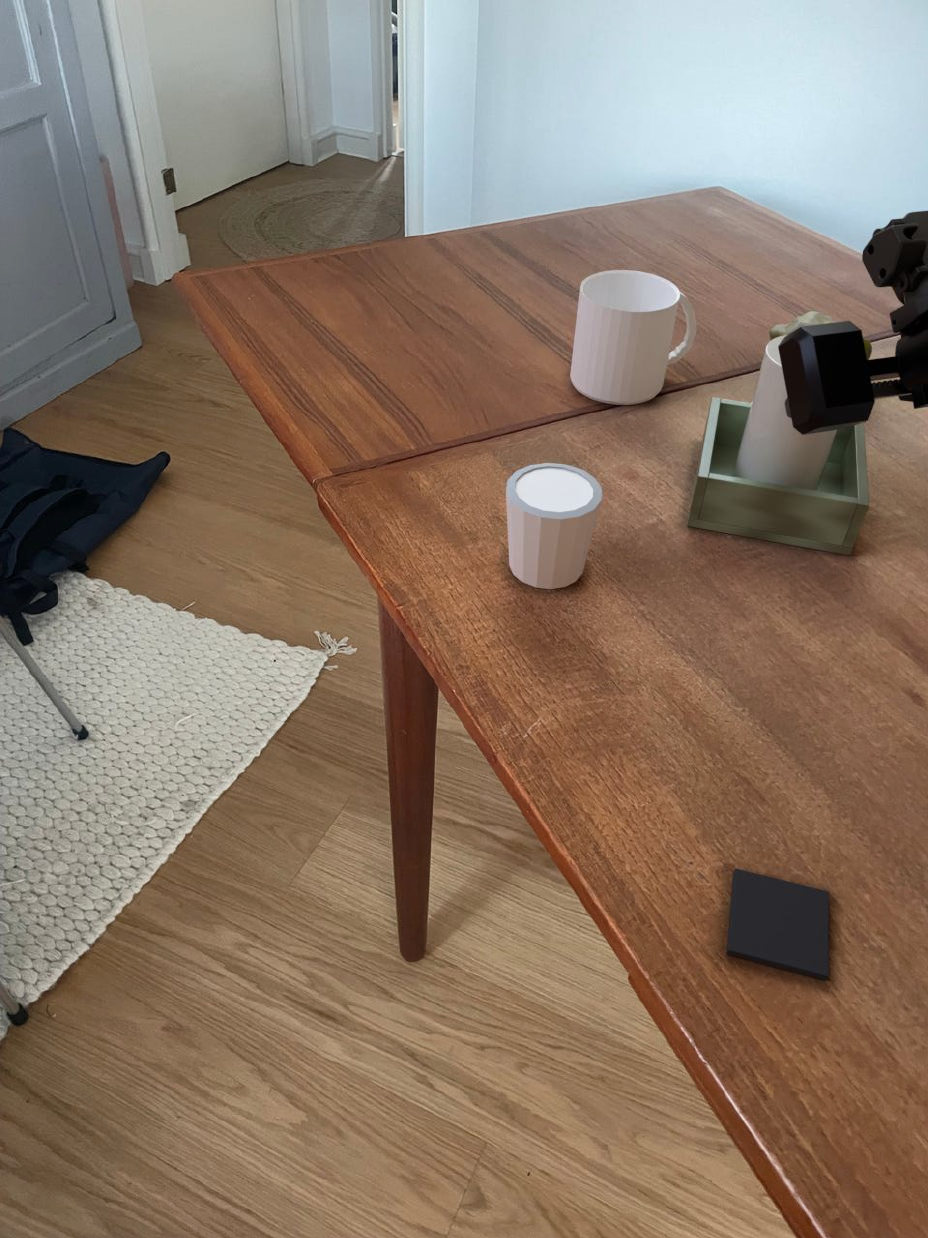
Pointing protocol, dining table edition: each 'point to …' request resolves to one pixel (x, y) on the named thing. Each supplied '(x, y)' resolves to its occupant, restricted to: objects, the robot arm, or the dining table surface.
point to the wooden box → (778, 490)
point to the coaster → (779, 924)
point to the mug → (627, 335)
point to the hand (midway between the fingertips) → (844, 400)
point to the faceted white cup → (550, 523)
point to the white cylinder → (779, 435)
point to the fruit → (808, 320)
